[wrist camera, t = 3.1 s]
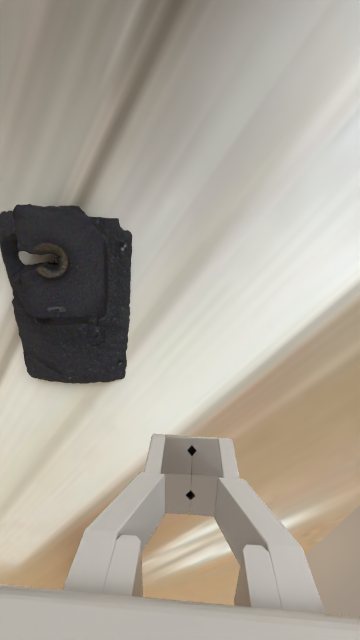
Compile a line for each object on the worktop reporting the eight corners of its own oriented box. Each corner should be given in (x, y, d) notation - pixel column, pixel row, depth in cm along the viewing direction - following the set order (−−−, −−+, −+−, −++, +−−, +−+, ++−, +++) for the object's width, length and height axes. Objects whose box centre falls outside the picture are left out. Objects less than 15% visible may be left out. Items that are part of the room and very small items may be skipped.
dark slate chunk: (23, 370, 34) (-2, 390, 30) (0, 200, 27) (-38, 193, 23) (130, 382, 34) (120, 404, 29) (135, 214, 27) (123, 208, 22)
